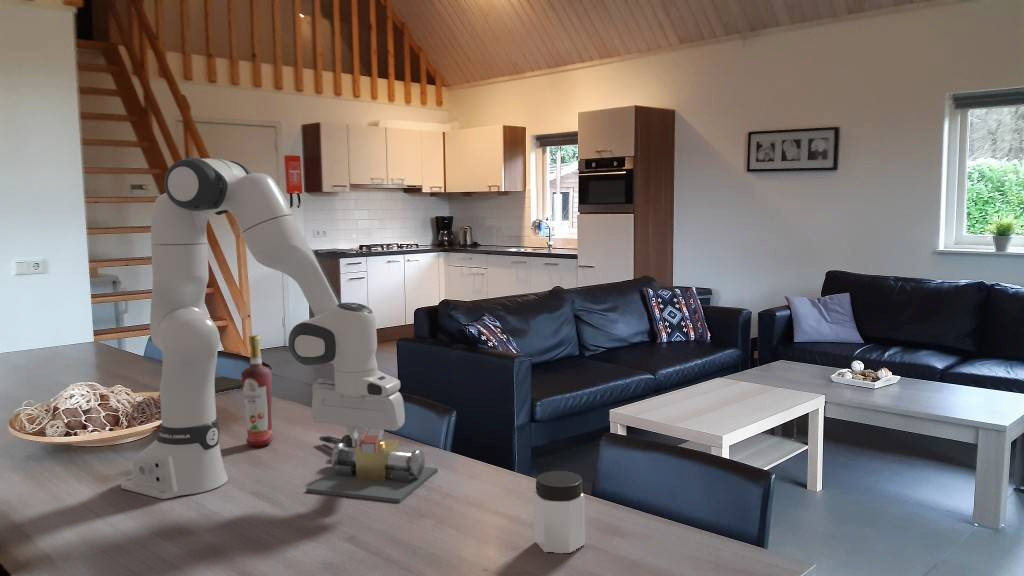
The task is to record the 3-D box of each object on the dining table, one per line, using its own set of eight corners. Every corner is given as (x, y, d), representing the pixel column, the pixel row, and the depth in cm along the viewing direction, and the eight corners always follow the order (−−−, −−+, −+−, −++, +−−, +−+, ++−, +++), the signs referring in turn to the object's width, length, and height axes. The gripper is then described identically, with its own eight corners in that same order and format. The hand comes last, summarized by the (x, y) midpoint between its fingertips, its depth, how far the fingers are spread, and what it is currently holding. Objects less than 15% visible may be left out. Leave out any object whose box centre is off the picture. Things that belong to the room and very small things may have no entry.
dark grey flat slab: (161, 396, 252) (160, 389, 252) (223, 382, 270) (223, 376, 270) (189, 403, 243) (188, 396, 242) (251, 388, 261) (251, 381, 261)
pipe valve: (330, 475, 172) (328, 443, 171) (346, 465, 178) (344, 433, 177) (412, 484, 165) (411, 450, 165) (426, 473, 172) (425, 440, 171)
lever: (371, 438, 173) (371, 424, 173) (385, 437, 173) (384, 423, 173) (361, 458, 159) (360, 443, 159) (375, 458, 159) (375, 443, 159)
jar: (556, 529, 144) (555, 466, 142) (592, 541, 138) (592, 476, 137) (525, 546, 137) (524, 480, 135) (563, 559, 132) (562, 491, 130)
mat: (306, 491, 165) (306, 488, 164) (351, 462, 182) (351, 459, 182) (400, 502, 158) (400, 498, 158) (437, 471, 176) (437, 467, 176)
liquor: (280, 440, 201) (274, 333, 198) (266, 449, 194) (260, 339, 191) (254, 439, 202) (248, 333, 199) (239, 448, 195) (233, 338, 192)
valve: (412, 465, 184) (358, 467, 174) (355, 449, 203) (303, 450, 193) (415, 438, 185) (360, 438, 175) (358, 425, 204) (306, 424, 194)
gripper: (304, 381, 160) (306, 446, 162) (393, 388, 154) (395, 456, 155) (320, 374, 166) (322, 437, 168) (407, 381, 160) (408, 446, 161)
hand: (358, 446), depth 161 cm, fingers closed
